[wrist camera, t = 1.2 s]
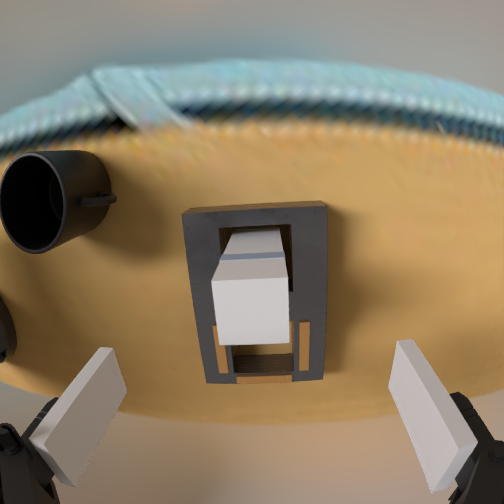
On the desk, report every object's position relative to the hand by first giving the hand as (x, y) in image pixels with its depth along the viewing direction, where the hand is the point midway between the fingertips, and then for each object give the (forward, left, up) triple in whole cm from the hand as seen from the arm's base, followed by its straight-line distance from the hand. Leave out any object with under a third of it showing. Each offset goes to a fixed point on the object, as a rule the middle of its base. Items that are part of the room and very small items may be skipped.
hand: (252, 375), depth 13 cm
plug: (0, 0, -20) cm, 20 cm away
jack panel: (0, -5, -20) cm, 21 cm away
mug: (-19, +8, -20) cm, 29 cm away
